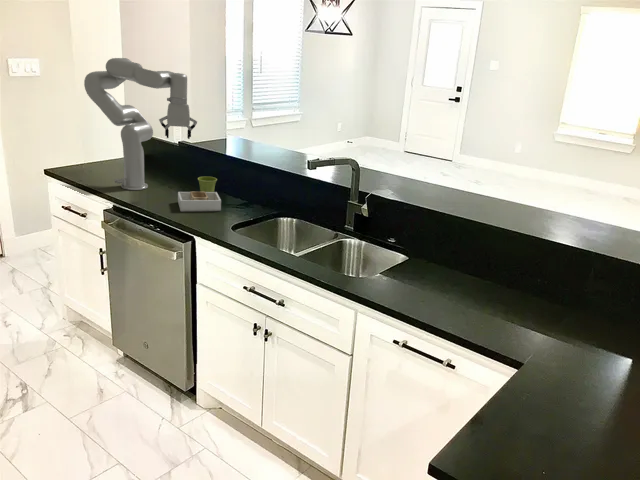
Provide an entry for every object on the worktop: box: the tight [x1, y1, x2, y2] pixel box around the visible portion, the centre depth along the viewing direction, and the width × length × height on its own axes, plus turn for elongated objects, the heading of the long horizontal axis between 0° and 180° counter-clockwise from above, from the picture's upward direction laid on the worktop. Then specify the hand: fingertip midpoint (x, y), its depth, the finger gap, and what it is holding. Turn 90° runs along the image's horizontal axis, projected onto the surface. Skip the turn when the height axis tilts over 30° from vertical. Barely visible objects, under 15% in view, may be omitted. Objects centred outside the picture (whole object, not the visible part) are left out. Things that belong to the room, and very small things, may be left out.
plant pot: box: [197, 176, 218, 192], centre depth 269 cm, size 9×9×9 cm
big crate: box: [177, 191, 222, 212], centre depth 252 cm, size 18×14×5 cm
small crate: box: [189, 191, 208, 200], centre depth 251 cm, size 7×10×5 cm
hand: (178, 138), depth 257 cm, fingers open, 9 cm apart
